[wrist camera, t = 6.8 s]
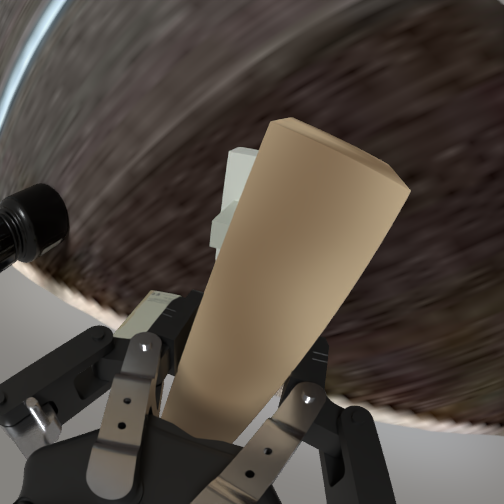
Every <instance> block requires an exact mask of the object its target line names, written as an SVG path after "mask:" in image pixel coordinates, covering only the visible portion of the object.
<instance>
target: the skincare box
mask: <svg viewBox="0 0 504 504" xmlns="http://www.w3.org/2000/svg"><path fill="white" fill-rule="evenodd" d="M179 296H180V295H175V294H170V293H164V292H159V291H153V290H151V291H150V292H149V293H148V295H147V296H146V297H145V298H144V299H143V300H142V301H141V302H140V304H139V305H138V306H137V307H136V308H135V309H134V311H133V312H132V313H131V314H130V315H129V316H128V318H127V319H126V320H125V321H124V322H123V324H122V325H121V326H120V327H119V328H118V329H117V331H116V332H115V333H114V334H113V337H118V338H126V339H131V338H132V337H133V336H134V335H135V334H137V333H140V332H147V331H148V329H149V328H150V327H151V325H152V324H153V323H154V322H155V320H156V319H157V318H158V317H159V316H160V314H162V312H163V311H164V309H166V307H167V306H168V304H169V303H170V302H171V301H172V300H174V299H176V298H178V297H179ZM110 390H111V388H110Z"/></svg>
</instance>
